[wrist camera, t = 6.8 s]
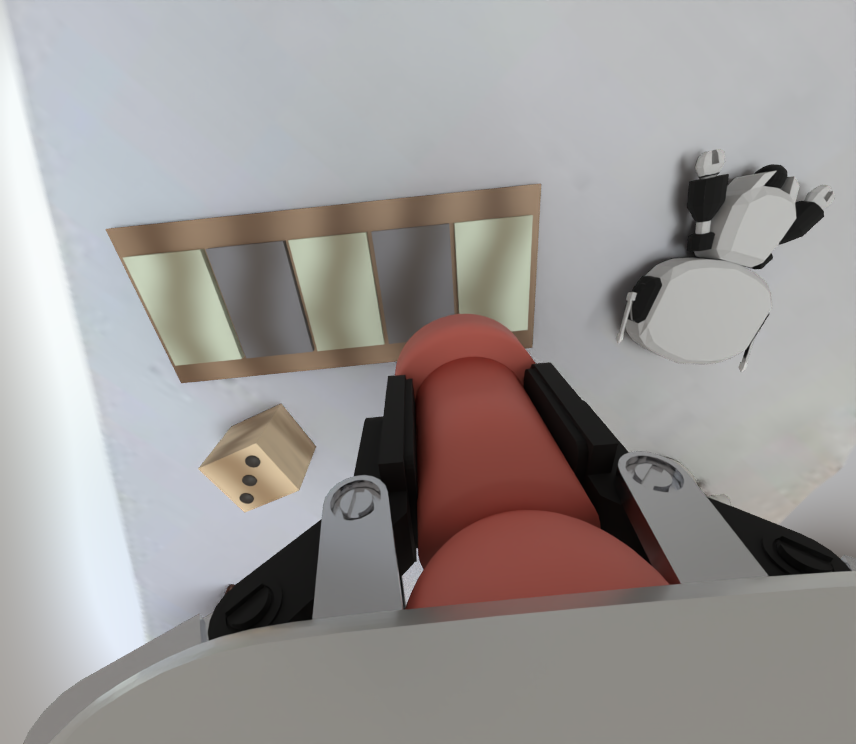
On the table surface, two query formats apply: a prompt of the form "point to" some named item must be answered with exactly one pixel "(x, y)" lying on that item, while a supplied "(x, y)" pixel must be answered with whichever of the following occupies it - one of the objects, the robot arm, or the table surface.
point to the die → (260, 459)
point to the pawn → (498, 479)
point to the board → (332, 279)
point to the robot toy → (721, 265)
